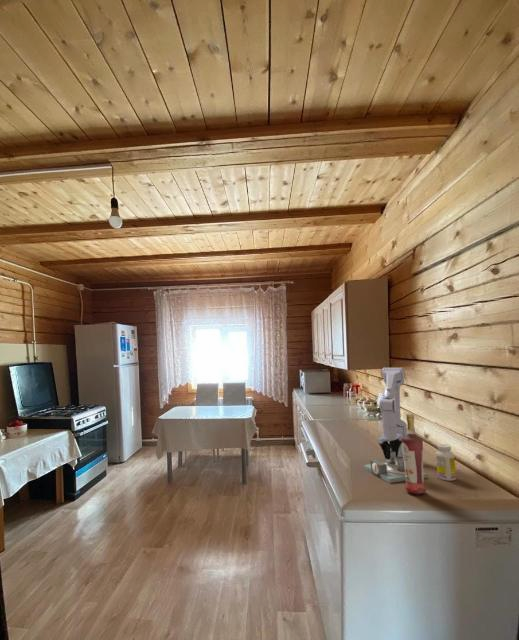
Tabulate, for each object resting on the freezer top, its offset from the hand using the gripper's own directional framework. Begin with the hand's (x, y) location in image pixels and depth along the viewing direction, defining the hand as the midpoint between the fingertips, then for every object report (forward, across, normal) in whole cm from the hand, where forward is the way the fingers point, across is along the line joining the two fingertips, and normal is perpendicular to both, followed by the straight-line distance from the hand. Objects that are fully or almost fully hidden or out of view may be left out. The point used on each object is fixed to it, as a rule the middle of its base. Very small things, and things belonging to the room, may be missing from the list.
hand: (391, 457), depth 148 cm
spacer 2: (+3, +2, +7) cm, 8 cm away
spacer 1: (+2, 0, 0) cm, 2 cm away
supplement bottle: (+5, -10, +19) cm, 22 cm away
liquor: (+5, +13, +20) cm, 25 cm away
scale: (+5, +2, +3) cm, 6 cm away
